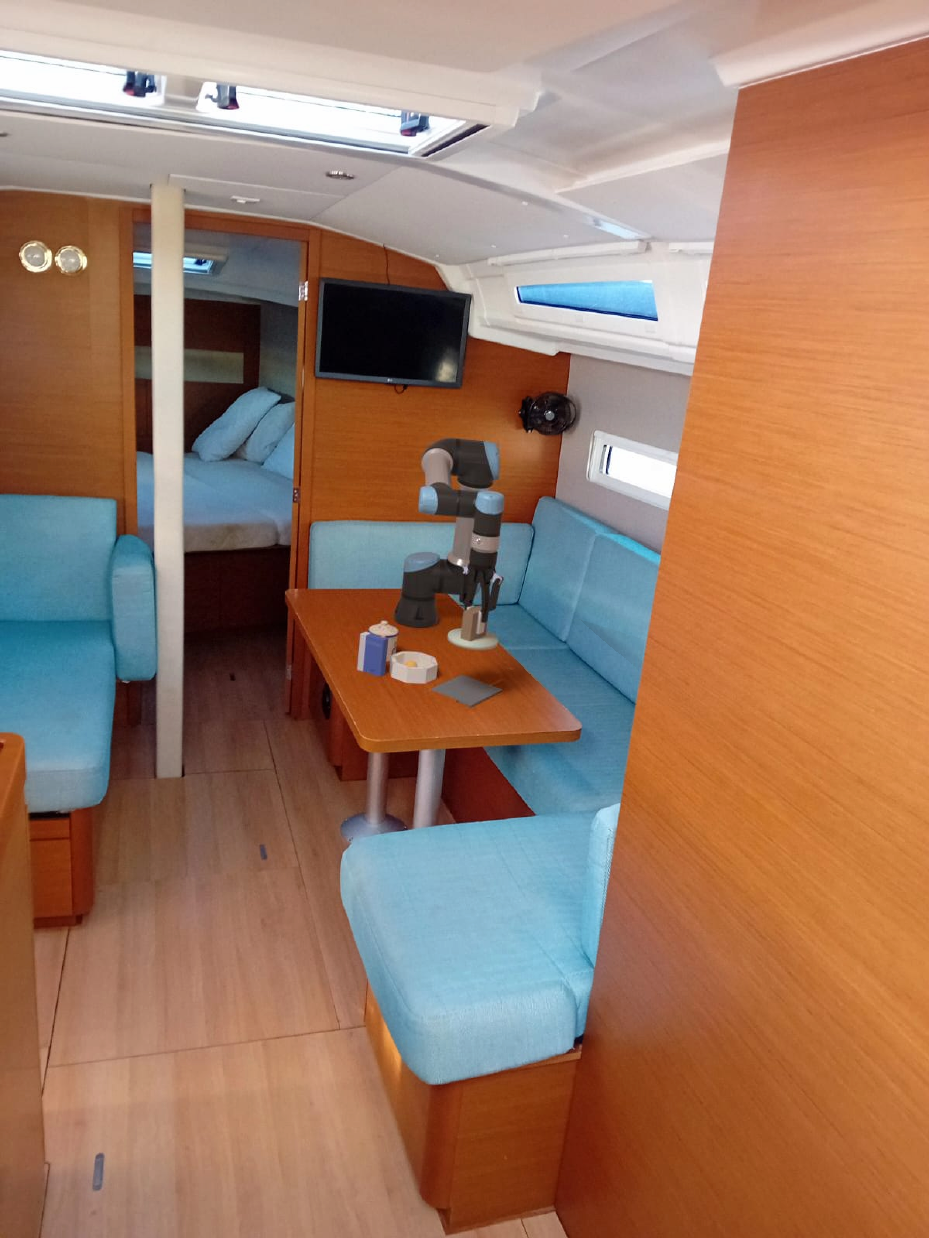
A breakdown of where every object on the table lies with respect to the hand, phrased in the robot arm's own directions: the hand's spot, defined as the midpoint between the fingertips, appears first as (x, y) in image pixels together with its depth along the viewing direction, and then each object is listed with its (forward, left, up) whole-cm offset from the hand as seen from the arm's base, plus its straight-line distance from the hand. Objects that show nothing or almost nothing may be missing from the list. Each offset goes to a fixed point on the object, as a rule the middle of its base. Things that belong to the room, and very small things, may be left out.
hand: (474, 630), depth 259 cm
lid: (0, 0, -3) cm, 3 cm away
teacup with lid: (-2, -33, -19) cm, 38 cm away
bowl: (+3, -17, -18) cm, 25 cm away
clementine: (+3, -18, -18) cm, 25 cm away
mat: (0, 0, -18) cm, 18 cm away
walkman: (+11, -26, -19) cm, 34 cm away
